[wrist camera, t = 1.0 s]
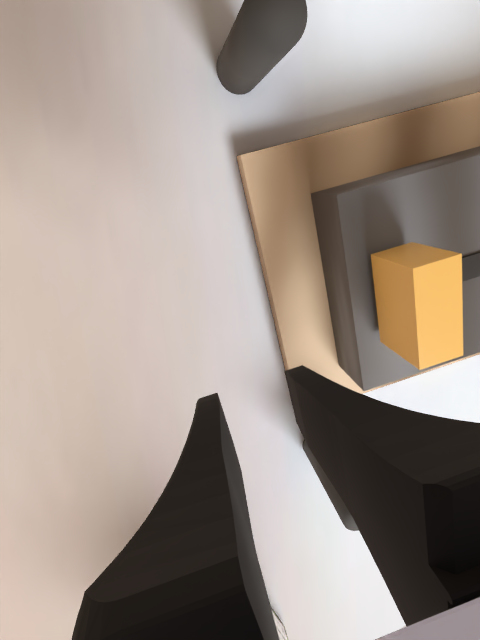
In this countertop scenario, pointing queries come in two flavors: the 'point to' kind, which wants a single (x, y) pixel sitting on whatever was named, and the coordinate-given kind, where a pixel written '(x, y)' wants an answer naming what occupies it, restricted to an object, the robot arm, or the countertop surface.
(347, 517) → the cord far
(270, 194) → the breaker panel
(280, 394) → the countertop surface
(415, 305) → the orange cuboid
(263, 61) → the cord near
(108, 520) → the countertop surface
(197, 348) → the countertop surface
